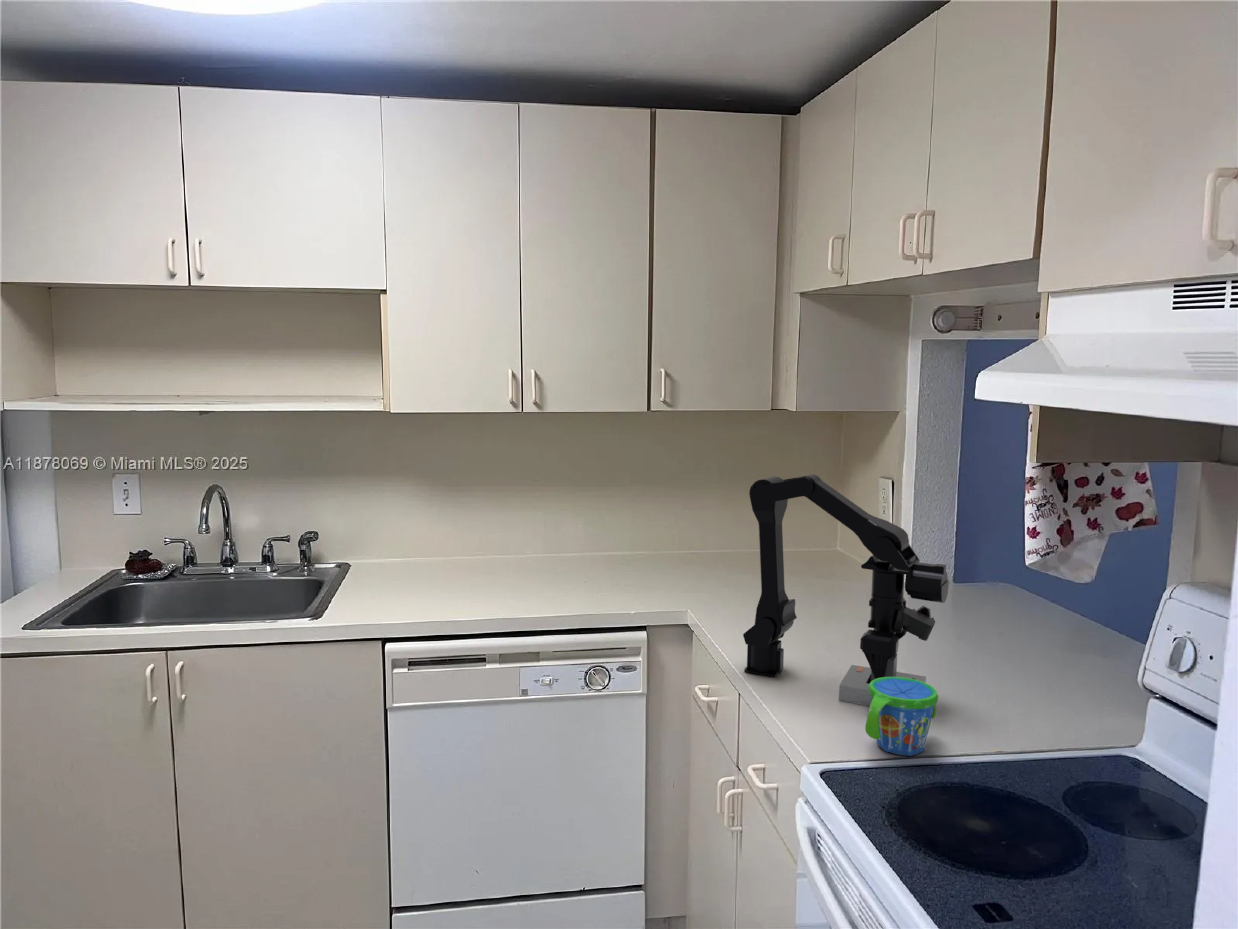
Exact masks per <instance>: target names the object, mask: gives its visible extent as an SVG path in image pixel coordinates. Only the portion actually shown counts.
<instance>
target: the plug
mask: <svg viewBox="0 0 1238 929" xmlns="http://www.w3.org/2000/svg"><path fill="white" fill-rule="evenodd" d="M897 666H898V653H896V655H895V656H893V657H891V658H890V659H889V660H888V665H887V669H886V673H885V677H896V672H898V671H897V668H898V667H897ZM874 679H875V677H874V675H873V673H872V670H871V681H873V680H874Z"/></svg>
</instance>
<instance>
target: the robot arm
mask: <svg viewBox="0 0 1238 929" xmlns="http://www.w3.org/2000/svg"><path fill="white" fill-rule="evenodd" d="M749 487H750V488H749V492H748V495H749V496H748V497H749V500H750V505H751V509H752V512H753V514H754V517H755V518H756V521H757V523H758V534H759V535H758V537H759V540H758V541H759V562H760V564H759V566H760V585H761V587H760V589H761V592H760V593H761V594H760V597H759V601H758V603H757V606H756V609H755V618H754V625H753V626H751V627H750V628H749V629H748V630H747V631H745V632H744V633H742V635H743V636H742V637H743V640H744V642H745V645H747V649H746V650H747V651H746V652H747V653H746V654H747V655H746V667H745V668H744V669H743V672H744V673H748V674H753V675H754V674H755V675H761V676H764V677H765V676H767V677H773V678H775V677H777V675H778V674H779V673H780V672H781V671H782V670H783V669H784V658H785V655H784V653H785V650H784V648H782V640H780V639H782V638H784V635H785V633H786V632H787V631H789V630H790V629H791V628H792V627H793V625H794V621H795V620H796V619H797V615H796V609H795V608H796V599H794V598H792V599H789V597H788V594H787V593H786V589H785V568H784V567H785V564H784V539H783V538H784V537H783V520H784V517H785V513H786V511H787V509H788V508H787V507H788V502H789V500H790V499H795V498H801V497H804V498H806V499H808V500H809V501H810V502H812V503H813V504H815V505H816V506H817V507H819V508H821V509H822V510H823V511H824V512H826V513H827V514H829V515H830V516H831V517H833V518H834V519H835V520H837V521H838V522H839V523H841V524H842V525H843V526H845V527H846V528H848V529H849V530H851V531H852V532H853V533H854V534H855V535H856V537H857V538H858V539H859V541H860V542H861V544H862V545H863V546H864V547H865V548H866V550H867V551H868V552H870V553H871V554H872V555H871V556H870V557H869V558H868V559H867V560H866V561H865V562H863V563H862V564H861V566H860V567H861V569H863V570H870V571H871V572H872V573H871V574H872V575H871V596H870V599H869V600H868V602H869V603H868V606H869V607H870V619H869V621H868V623H867V628H871V629H868V630H866V631H865V632H864V633H863V634H862V636H861V638H860V644H859V645H860V646H859V648H860V650H861V652H862V653H863V654H864V656H865V659H866V661H867V662H868V665H869V668H871V670H872V673H873V675H874V677H875V679H877V678H881V677H885V673H886V669H887V665H888V660H889V659H890V658H891V657H893V656H895V655H896V654H898V651H899V645H900V644H899V643H900V642H899V641H900V639H902V638H903V637H904V636H905V635H906V634H907V633H909V634H912V635H914V636H916V637H917V638H918V639H920V640H922V641H925V642H927V641H928V639H929V637H930V635H931V634H932V630H933V629H934V626H935V624H936V620H935V618H934V617H932V615H931V613H932V612H931V609H930V608H929V607H927V606H925V605H922V606H921V607H919V608H917V609H916V608H909V607H908V606H907V600H906V598H905V597H904V596H905V595H904V593H905V592H906V595H908V596H910V598H911V599H915V600H921V601H927V602H936V603H941V604H944V603H946V601H947V597H948V591H949V585H950V582H949V580H948V578H949V577H948V573H947V565H946V564H943V563H936V564H934V563H925V562H920V561H921V560H920V558H919V557H918V555H917V554H916V552H915V551H914V549H913V548H912V546H911V545H910V538H909V534H908V533H907V531H905V530H904V528H902V527H900V526H899V525H896V524H895V523H892V522H890V521H888V520H885V519H883V518H879V517H876V516H874V515H872V514H870V513H868V512H867V511H866V510H864V509H863V508H861V507H860V506H858V504H855V503H854V502H853V501H851V500H850V499H849V498H847V497H846V496H844V495H843V494H842V493H840V492H839V491H837V490H836V489H835V488H833V487H832V486H830V485H829V484H827V483H826V482H825V481H824V480H822V478H820V476H818V475H817V474H815V473H814V474H813V473H811V474H807V475H803V476H798V477H791V478H785V479H784V478H782V477H779V476H776V475H774V476H769V477H766V478H765V477H764V478H761V479H758V480H756V481H754V482H753V483H752V485H751V486H749ZM904 591H905V592H904Z"/></svg>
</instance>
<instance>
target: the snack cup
mask: <svg viewBox="0 0 1238 929" xmlns="http://www.w3.org/2000/svg"><path fill="white" fill-rule="evenodd" d="M868 689H869V693H870V695H871V697H872V702H871V705H870V706H869V709H868V713H867V716H866V717H867V718H866V722H865V726H864V727H865V728H864V729H865V733H866V734H867V736H868V737H870V738H871V739H874V740H876V742H877V744H878V746H879V747H881V749H883V750H884V751H885V752H886V753H887V752H888V753H892V754H894V755H899V756H901V755H902V756H908V757H910V756H913V755H919V754H920V753H922V752H923V751H924V750H925V746H926V743H927V739H928V734H929V730H930V726H931V721H932V719H934V718H935V717H936V714H937V705H936V704H937V702H938V700H939V694H938V691H937V689H936V688H935V687H934V686H932V685H931V684H929V683H927V682H926V683H924V682H921V681H918V680H915V679H910V678H904V677H881V678H877V679H874V680H873V681H871V682H870V684H869V685H868Z"/></svg>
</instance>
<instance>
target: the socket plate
mask: <svg viewBox="0 0 1238 929" xmlns="http://www.w3.org/2000/svg"><path fill="white" fill-rule="evenodd" d="M896 677H904V678H910V679H915V680H918V681H921V682H924V683H927V676H925V675H919V674H913V673H906V672H900V671H897V672H896ZM870 682H871V668H870V666H869V667H867V666H861V665H855V664H851V665H850V667H849V669H848V670H847V672H846V673H845V675H844V677H843V678H842V680H841V682H840V683H839V686H838V701H839V700H840V702H845V703H850V702H851V704H857V705H861V706H867V707H870V705H871V702H872V697H871V695H870V693H869V689H868V685H869V684H870Z"/></svg>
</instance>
